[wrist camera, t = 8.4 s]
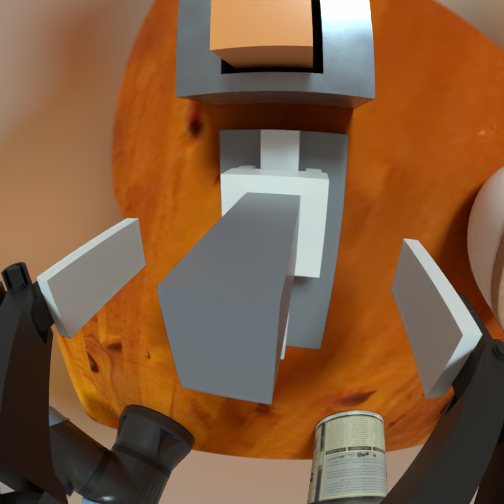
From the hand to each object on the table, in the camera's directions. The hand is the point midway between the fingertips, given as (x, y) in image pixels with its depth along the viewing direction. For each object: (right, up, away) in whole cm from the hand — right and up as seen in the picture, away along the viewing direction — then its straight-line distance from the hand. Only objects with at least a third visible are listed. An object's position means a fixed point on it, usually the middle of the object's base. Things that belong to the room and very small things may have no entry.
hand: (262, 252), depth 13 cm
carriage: (+2, +3, +7) cm, 7 cm away
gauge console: (+2, +14, +3) cm, 14 cm away
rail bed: (+2, 0, +10) cm, 10 cm away
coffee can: (+14, -25, +19) cm, 35 cm away
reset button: (+1, +11, -2) cm, 11 cm away
